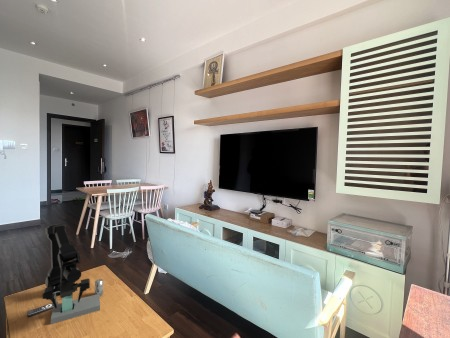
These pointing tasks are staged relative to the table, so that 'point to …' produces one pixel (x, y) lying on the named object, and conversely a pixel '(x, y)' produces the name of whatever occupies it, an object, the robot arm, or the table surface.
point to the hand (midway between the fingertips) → (67, 304)
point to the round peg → (99, 287)
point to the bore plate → (76, 308)
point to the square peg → (67, 303)
